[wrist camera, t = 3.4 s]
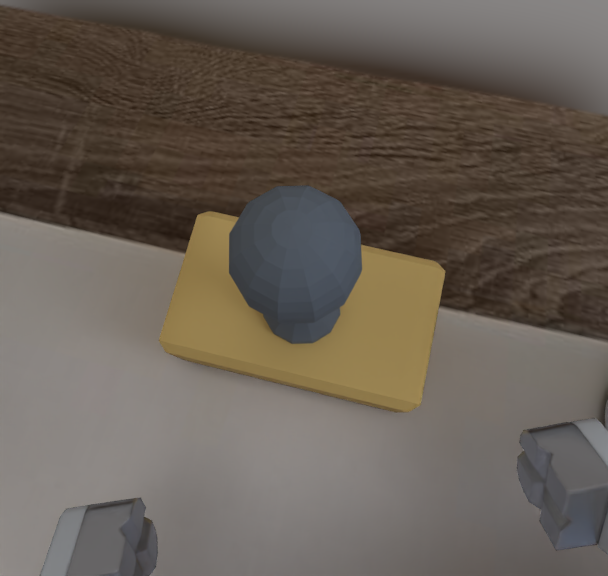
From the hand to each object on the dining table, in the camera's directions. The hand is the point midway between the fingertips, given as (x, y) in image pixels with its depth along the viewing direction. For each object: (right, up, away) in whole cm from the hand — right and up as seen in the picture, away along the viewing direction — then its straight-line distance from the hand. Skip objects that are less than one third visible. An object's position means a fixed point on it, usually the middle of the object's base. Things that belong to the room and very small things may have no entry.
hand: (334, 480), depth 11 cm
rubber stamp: (-1, +3, +12) cm, 12 cm away
